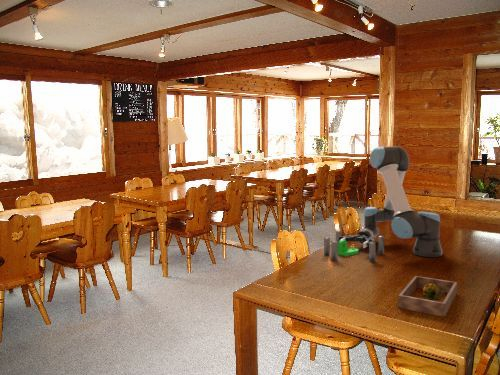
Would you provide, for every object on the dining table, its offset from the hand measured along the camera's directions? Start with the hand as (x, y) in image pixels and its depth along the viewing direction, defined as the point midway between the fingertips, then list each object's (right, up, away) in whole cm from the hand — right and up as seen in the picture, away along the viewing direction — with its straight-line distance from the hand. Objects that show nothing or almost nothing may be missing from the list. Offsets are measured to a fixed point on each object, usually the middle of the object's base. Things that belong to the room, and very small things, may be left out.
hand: (351, 244), depth 249 cm
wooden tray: (+16, -14, -67) cm, 70 cm away
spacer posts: (0, -6, -2) cm, 6 cm away
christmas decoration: (+18, -15, -66) cm, 70 cm away
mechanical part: (-1, -6, +3) cm, 7 cm away
